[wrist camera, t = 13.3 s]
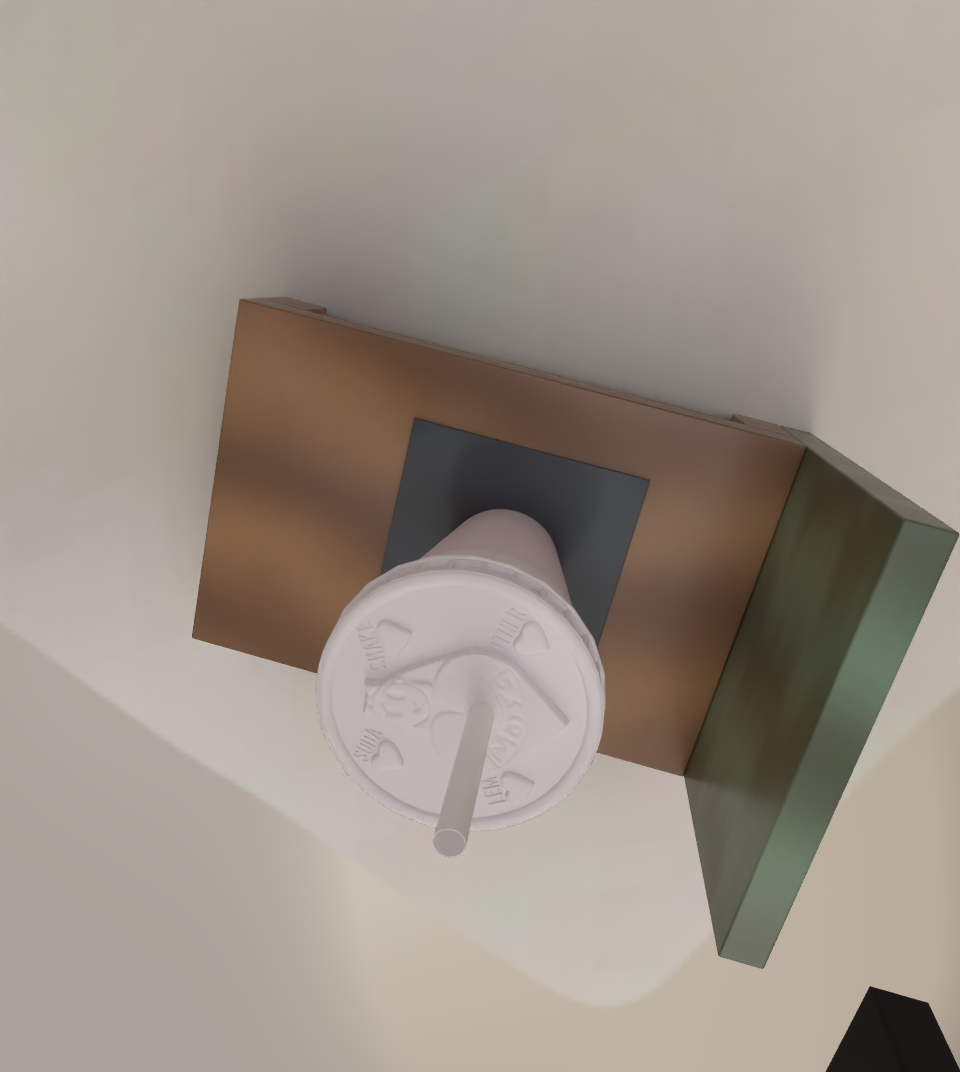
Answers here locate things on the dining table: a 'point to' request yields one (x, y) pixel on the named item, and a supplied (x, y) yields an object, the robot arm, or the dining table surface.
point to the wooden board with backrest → (588, 563)
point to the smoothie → (465, 683)
